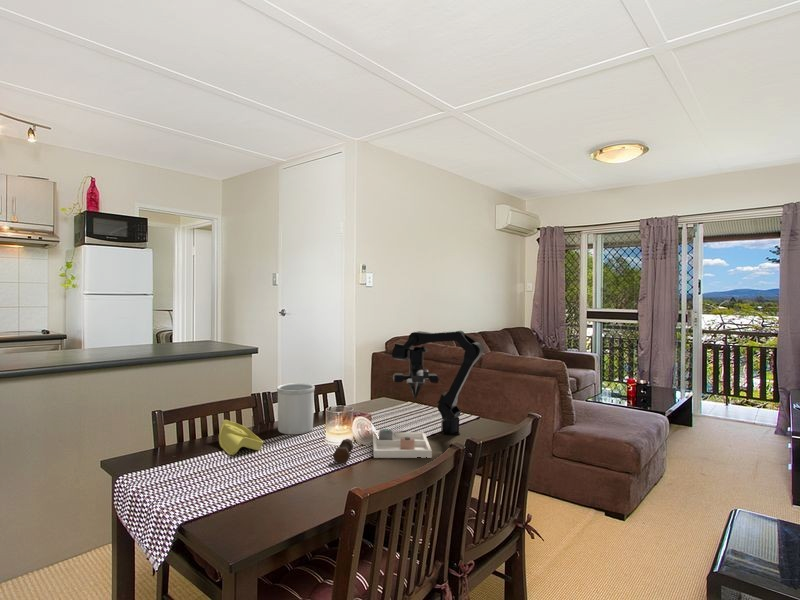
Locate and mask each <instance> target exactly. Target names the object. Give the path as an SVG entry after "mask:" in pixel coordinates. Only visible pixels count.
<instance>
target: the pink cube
mask: <svg viewBox="0 0 800 600" xmlns="http://www.w3.org/2000/svg"><path fill="white" fill-rule="evenodd" d="M414 441H415V439H414V438H411V437H402V438H401V439H400V450H414Z"/></svg>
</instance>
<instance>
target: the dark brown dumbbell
mask: <svg viewBox="0 0 800 600" xmlns="http://www.w3.org/2000/svg"><path fill="white" fill-rule="evenodd" d="M353 448H354V444H353V441H352V440H351V439H350V438H346V439H342V441H341V442H340V444H339V446H338V447H337V448H336V449H335V451H334V453H333V454H332V456H333V459H334V461H335V463H336V462H337V463H336V464H347V462H348V461H349V459H350V457H351V454H350V453H351V451H352V450H353ZM349 452H350V453H349Z"/></svg>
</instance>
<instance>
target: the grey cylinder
mask: <svg viewBox="0 0 800 600" xmlns="http://www.w3.org/2000/svg"><path fill="white" fill-rule="evenodd" d="M379 430H380V431H379V440H392V435H393V432H394V430H393V429H388V428H384V429H379ZM392 430H393V431H392Z"/></svg>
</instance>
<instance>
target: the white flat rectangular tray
mask: <svg viewBox="0 0 800 600" xmlns="http://www.w3.org/2000/svg"><path fill="white" fill-rule="evenodd" d="M380 430H381V429H375V432H376V431H377V432H378V434H379V431H380ZM391 430H392V431H393V435H392V440H379V439H378V440H376V435H375V436H373V435H372V451H373V458H374V459H375V458H376V459H379V458H381V459H382V458H383V459H391V458H393V459H394V458H395V459H410V458H411V459H414V458H415V459H418V458H417V457H421V458H420V459H427V458H428V459H429V458H430V459H431V458H433V457H432V455H433V454H432V452H433V450H432V447H431V446H430V443H429V439H428V438H427V436H426V433H425V432H418V431H416V432H415V431H414V432H413V431H412V432H411V431H410V432H407V431H405V432H403V431H402V432H401V431H400V432H398V431H396V432H394V430H393V429H391ZM377 432H376V433H377ZM402 437H411V438H414V439H415V441H414V450H400V439H401V438H402ZM426 457H427V458H426Z"/></svg>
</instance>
